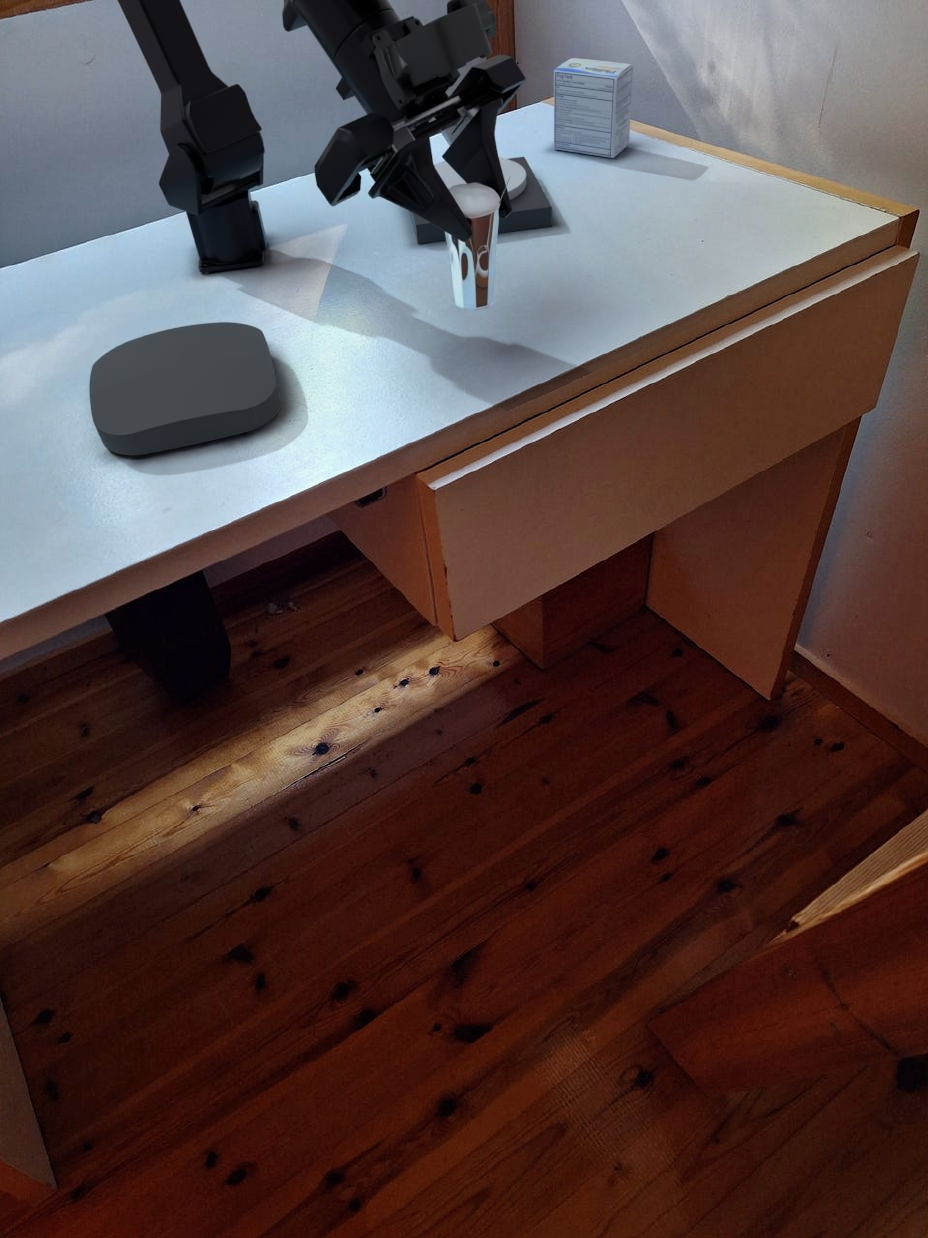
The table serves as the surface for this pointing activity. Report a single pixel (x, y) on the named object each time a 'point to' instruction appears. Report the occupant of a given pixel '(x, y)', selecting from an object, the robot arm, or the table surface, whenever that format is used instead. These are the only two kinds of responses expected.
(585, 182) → the table surface
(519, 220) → the scale
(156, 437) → the media streaming box
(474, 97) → the robot arm
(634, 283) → the table surface
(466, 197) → the milkshake
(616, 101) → the medicine box
